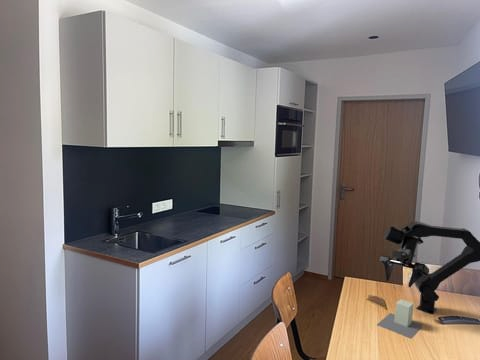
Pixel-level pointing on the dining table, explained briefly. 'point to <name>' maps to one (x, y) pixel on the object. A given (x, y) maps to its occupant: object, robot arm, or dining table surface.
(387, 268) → the robot arm
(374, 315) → the dining table surface
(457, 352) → the dining table surface
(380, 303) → the shard
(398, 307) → the sage block
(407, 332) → the rubber mat
